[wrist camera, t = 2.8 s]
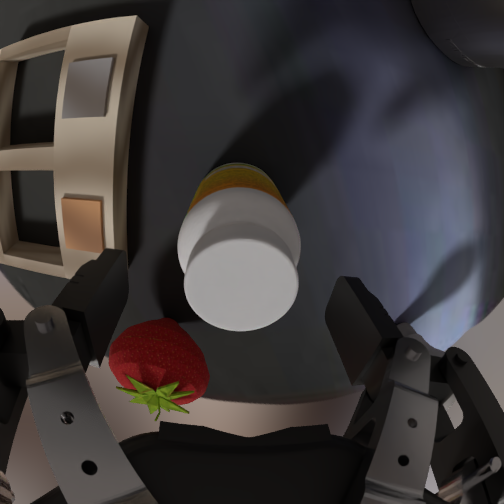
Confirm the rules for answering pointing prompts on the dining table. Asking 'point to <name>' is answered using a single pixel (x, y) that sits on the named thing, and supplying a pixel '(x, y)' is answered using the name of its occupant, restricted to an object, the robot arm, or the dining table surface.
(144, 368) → the strawberry
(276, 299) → the supplement bottle
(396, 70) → the dining table surface
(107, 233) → the socket plate
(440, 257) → the dining table surface
